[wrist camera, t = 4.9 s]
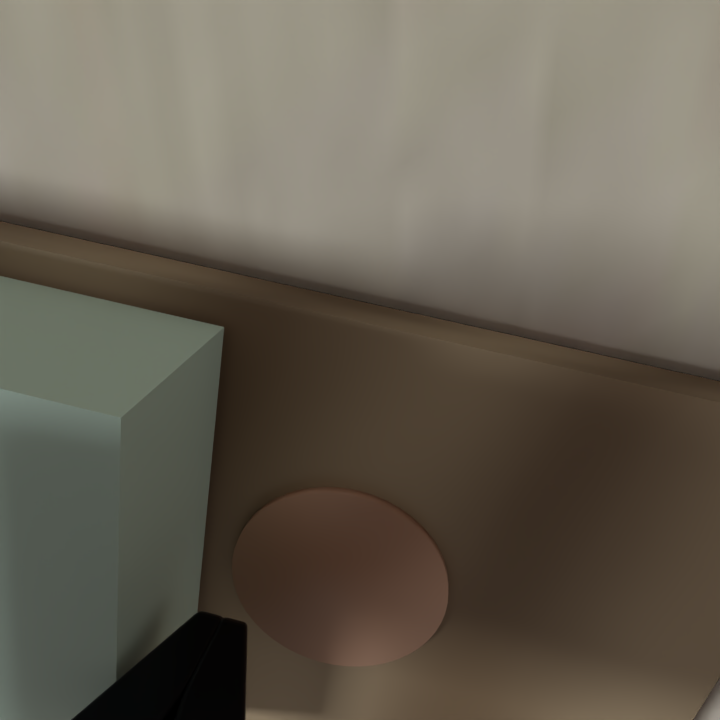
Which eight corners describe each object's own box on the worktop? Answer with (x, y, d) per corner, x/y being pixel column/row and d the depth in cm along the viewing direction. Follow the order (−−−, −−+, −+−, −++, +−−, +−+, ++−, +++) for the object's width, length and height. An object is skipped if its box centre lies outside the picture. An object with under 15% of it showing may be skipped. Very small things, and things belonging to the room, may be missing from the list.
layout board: (828, 405, 9) (881, 444, 8) (607, 786, 13) (622, 846, 12) (-302, 153, 10) (-393, 156, 9) (-191, 571, 14) (-245, 607, 13)
